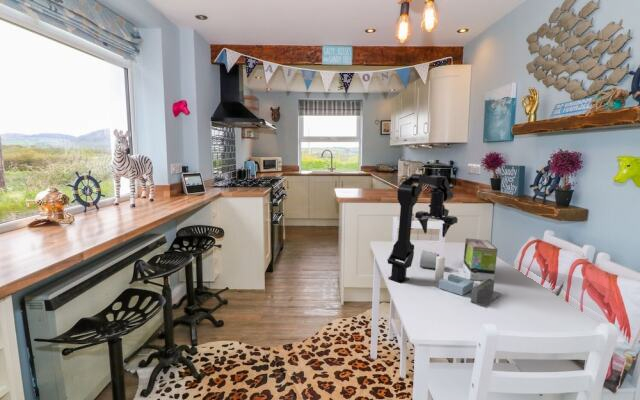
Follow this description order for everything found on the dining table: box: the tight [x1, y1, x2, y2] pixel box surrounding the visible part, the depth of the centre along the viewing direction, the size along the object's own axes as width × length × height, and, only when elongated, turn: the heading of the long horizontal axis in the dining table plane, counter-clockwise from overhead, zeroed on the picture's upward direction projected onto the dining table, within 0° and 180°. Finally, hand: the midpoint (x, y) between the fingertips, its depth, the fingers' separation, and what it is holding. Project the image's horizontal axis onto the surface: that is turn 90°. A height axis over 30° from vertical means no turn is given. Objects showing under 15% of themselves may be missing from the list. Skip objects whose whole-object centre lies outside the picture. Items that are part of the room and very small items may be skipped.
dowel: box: [434, 255, 446, 283], centre depth 143 cm, size 3×3×10 cm
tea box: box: [462, 238, 498, 282], centre depth 151 cm, size 15×10×15 cm, turn 168°
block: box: [438, 273, 475, 296], centre depth 136 cm, size 10×10×3 cm
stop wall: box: [470, 279, 503, 308], centre depth 127 cm, size 16×5×5 cm, turn 134°
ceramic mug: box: [419, 250, 440, 269], centre depth 161 cm, size 11×8×8 cm
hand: (434, 235), depth 162 cm, fingers open, 9 cm apart
